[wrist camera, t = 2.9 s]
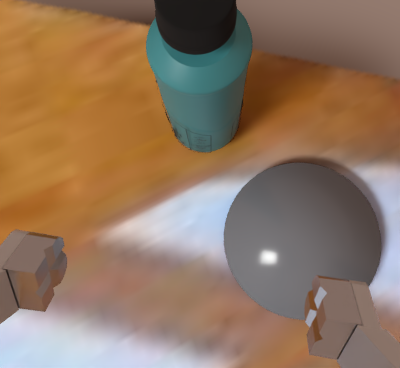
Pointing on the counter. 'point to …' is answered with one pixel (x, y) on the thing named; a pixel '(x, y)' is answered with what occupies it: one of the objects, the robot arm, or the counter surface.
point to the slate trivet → (299, 235)
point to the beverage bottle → (200, 68)
